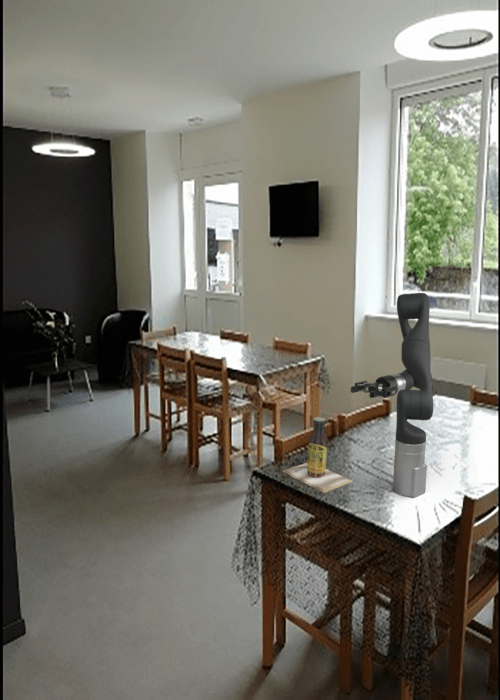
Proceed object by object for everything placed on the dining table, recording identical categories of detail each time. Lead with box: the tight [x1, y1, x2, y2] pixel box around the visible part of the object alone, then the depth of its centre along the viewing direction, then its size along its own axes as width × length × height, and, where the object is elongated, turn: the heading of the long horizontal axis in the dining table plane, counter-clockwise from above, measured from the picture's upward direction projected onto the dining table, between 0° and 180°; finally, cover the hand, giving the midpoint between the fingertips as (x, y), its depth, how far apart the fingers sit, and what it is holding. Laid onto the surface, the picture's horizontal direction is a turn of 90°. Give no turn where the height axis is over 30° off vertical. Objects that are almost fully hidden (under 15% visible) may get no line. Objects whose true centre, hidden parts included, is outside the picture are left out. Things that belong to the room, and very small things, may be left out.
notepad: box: [282, 462, 353, 494], centre depth 189 cm, size 20×13×1 cm, turn 38°
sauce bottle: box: [306, 416, 328, 477], centre depth 187 cm, size 7×6×20 cm
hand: (360, 392), depth 194 cm, fingers open, 8 cm apart
